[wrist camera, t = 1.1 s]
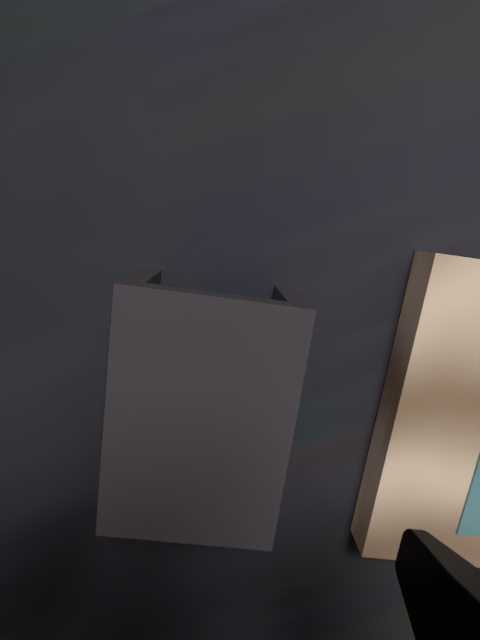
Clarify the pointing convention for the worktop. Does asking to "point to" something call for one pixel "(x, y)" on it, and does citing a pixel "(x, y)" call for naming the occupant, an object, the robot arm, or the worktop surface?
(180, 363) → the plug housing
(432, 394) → the pin board
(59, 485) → the worktop surface
